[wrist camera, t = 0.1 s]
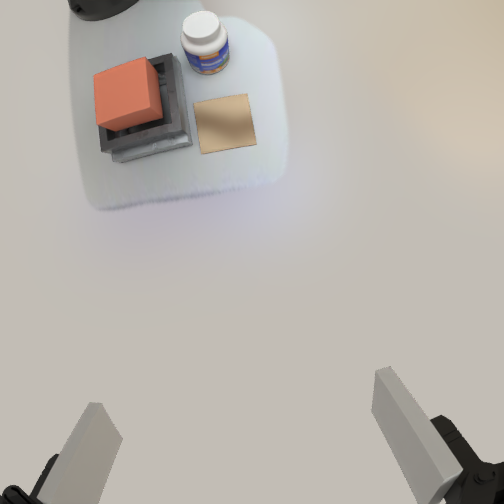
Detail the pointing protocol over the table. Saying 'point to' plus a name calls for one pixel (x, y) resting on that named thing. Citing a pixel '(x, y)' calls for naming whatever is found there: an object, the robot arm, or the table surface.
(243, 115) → the coaster
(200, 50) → the pill bottle
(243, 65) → the table surface
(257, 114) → the table surface
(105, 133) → the grey square tray
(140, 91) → the orange block
